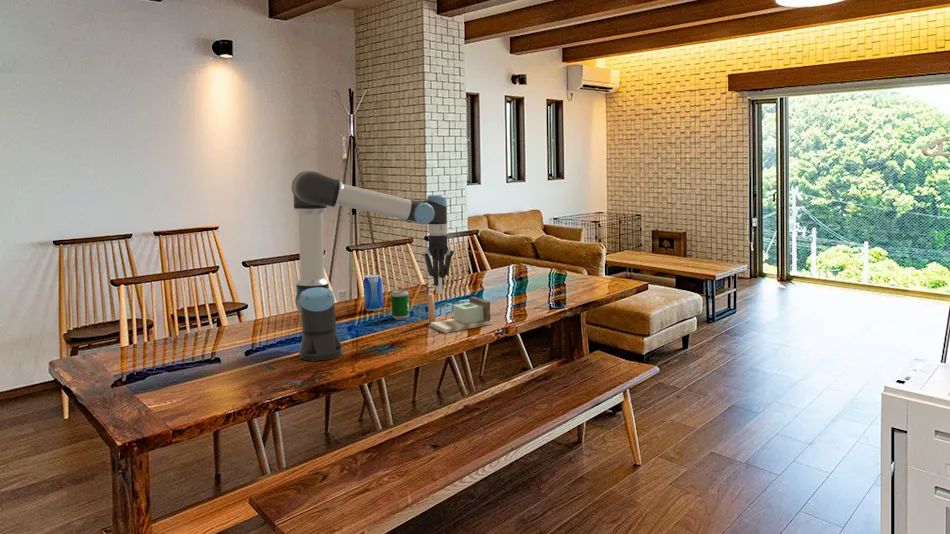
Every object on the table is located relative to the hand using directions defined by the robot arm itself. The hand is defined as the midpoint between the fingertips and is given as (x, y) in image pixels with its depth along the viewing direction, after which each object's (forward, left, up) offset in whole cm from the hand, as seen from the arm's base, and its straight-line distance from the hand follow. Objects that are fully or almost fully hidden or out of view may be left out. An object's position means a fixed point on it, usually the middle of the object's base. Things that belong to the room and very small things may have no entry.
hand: (439, 293), depth 254 cm
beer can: (-9, +49, -15) cm, 52 cm away
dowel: (+2, +11, -15) cm, 18 cm away
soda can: (-5, +27, -15) cm, 31 cm away
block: (+13, 0, -13) cm, 18 cm away
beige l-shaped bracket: (+10, 0, -15) cm, 17 cm away
